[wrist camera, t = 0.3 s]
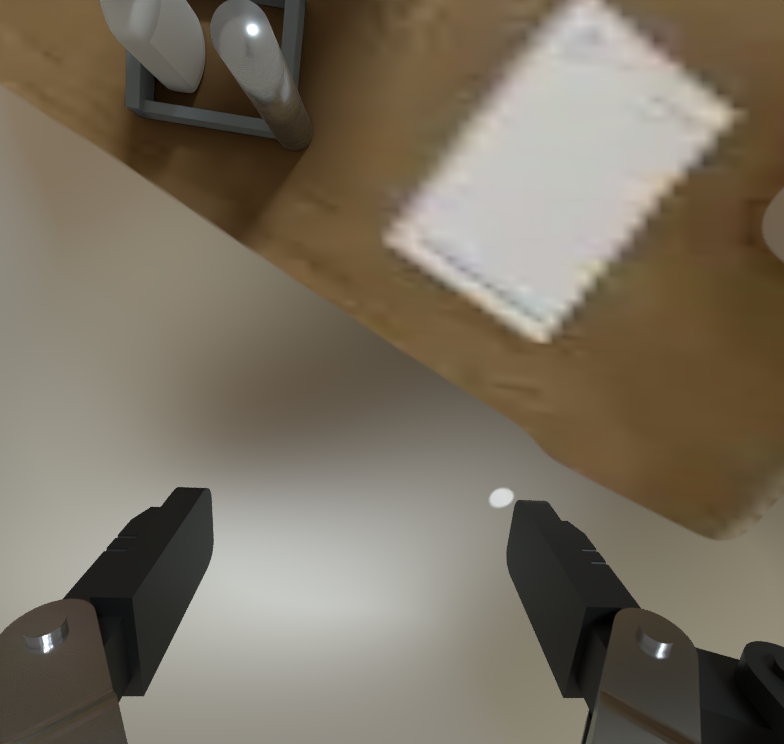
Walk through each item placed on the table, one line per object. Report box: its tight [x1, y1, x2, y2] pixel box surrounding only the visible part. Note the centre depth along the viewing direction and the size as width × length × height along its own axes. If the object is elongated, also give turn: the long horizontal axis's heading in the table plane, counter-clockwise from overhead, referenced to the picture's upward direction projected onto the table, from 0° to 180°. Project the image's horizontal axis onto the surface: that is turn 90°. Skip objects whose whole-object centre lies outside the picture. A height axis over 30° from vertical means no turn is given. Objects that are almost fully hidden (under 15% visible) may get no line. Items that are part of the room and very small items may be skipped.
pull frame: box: [125, 0, 313, 151], centre depth 26 cm, size 11×14×13 cm
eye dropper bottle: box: [100, 0, 205, 93], centre depth 27 cm, size 4×6×12 cm
